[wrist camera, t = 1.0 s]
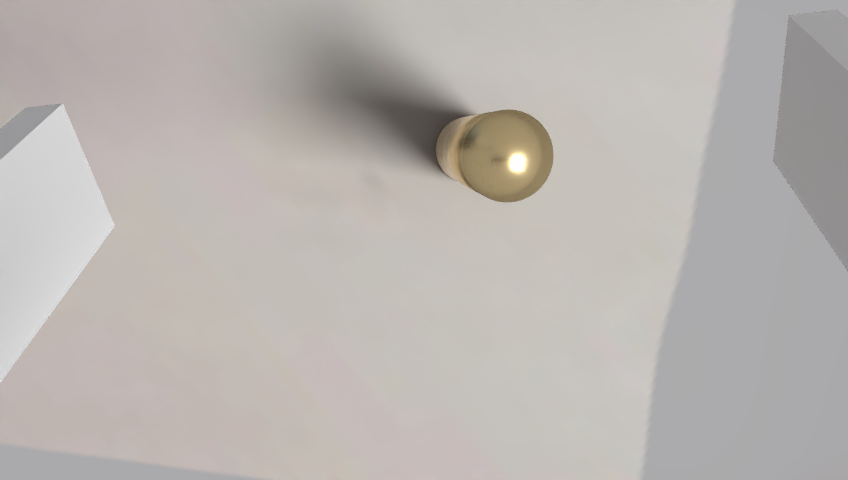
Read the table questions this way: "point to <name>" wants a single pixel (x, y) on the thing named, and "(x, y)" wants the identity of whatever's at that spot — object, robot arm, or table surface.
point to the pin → (497, 154)
